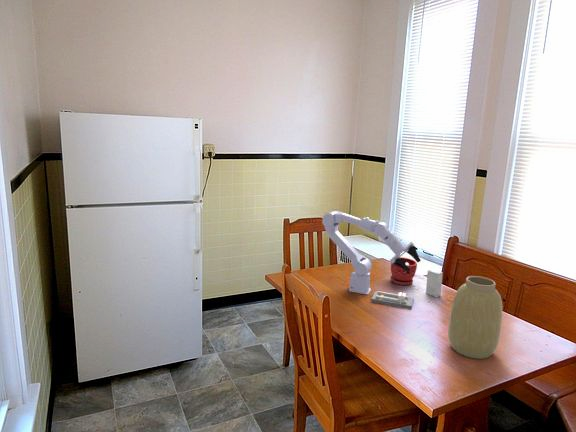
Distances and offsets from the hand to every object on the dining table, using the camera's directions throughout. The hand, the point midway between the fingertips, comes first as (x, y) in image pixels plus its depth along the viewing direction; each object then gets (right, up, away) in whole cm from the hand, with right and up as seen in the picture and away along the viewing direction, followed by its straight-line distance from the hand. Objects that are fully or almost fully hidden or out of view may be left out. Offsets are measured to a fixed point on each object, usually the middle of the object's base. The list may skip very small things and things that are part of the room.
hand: (414, 266), depth 189 cm
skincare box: (+13, -16, +14) cm, 25 cm away
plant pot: (+2, -12, +29) cm, 31 cm away
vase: (+10, -26, -37) cm, 46 cm away
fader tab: (-5, -15, +2) cm, 17 cm away
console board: (-9, -17, +3) cm, 19 cm away
